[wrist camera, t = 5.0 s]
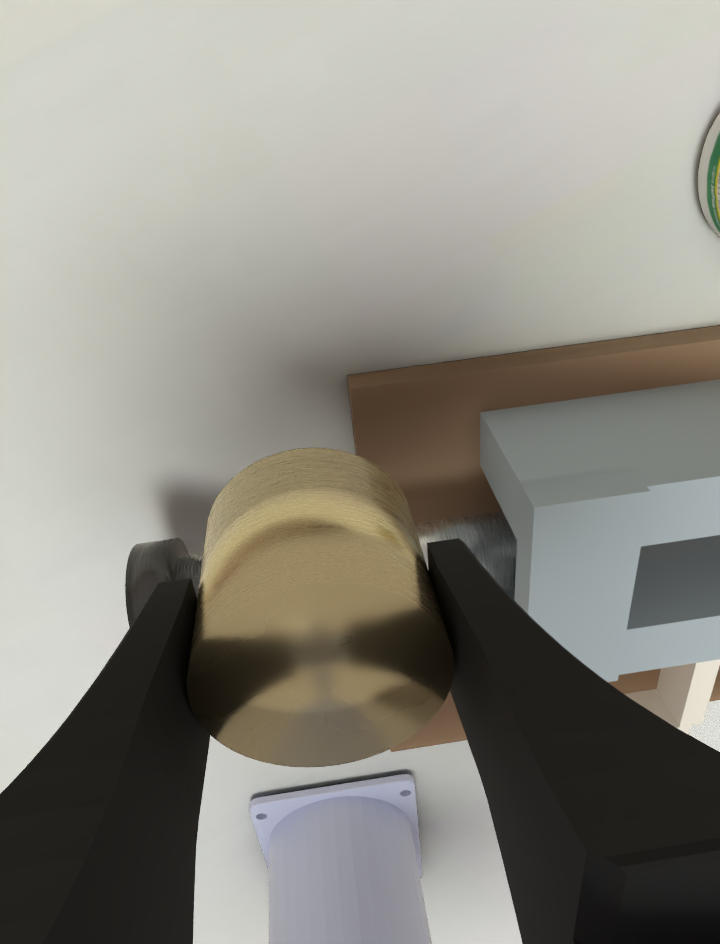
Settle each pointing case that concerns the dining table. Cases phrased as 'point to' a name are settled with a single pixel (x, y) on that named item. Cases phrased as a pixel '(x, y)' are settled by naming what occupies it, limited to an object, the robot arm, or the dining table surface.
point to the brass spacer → (315, 614)
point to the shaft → (479, 532)
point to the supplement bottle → (711, 177)
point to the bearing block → (615, 522)
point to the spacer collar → (681, 694)
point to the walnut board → (458, 432)
